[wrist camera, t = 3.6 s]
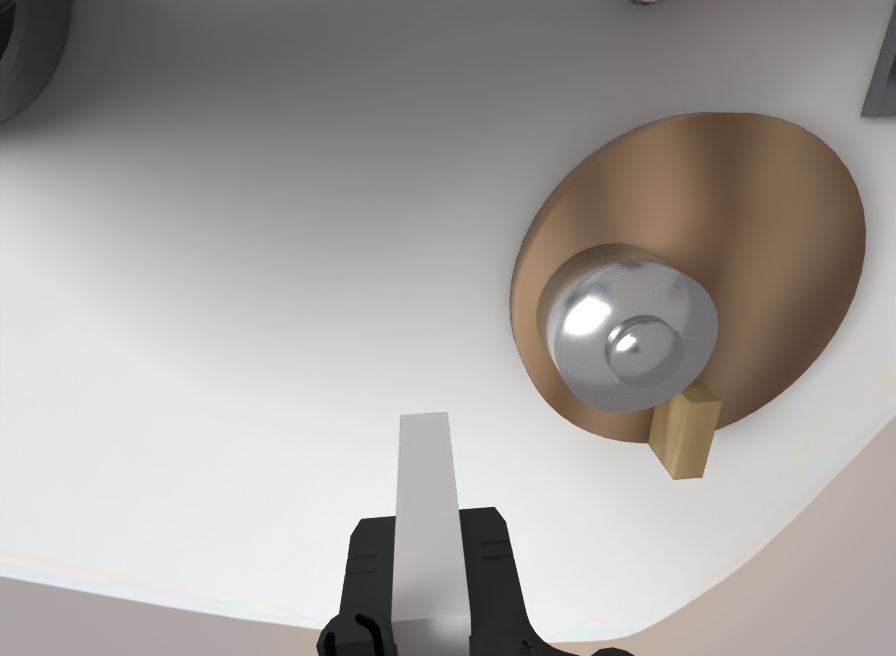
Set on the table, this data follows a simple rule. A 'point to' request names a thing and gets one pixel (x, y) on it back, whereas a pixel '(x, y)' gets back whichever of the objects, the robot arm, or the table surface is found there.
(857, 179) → the table surface
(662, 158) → the turntable
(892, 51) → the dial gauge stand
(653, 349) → the cover
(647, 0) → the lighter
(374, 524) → the robot arm
